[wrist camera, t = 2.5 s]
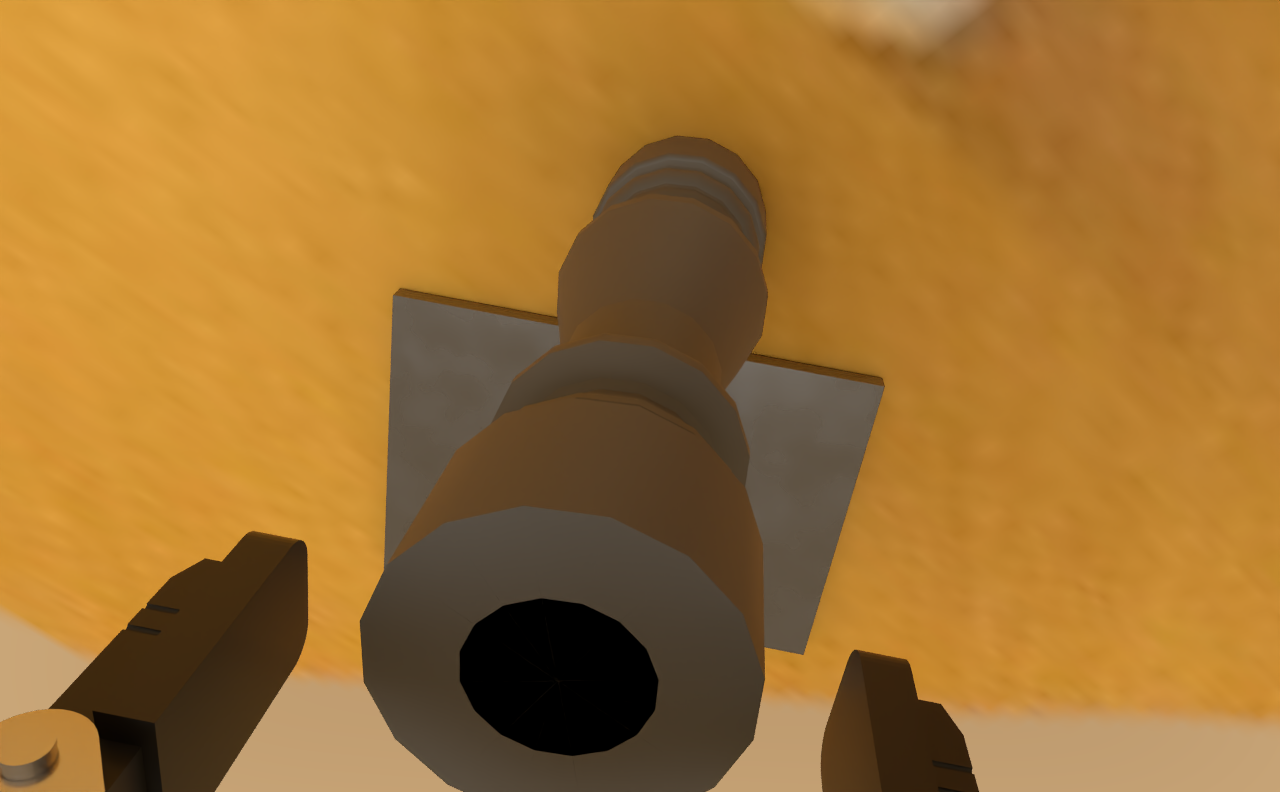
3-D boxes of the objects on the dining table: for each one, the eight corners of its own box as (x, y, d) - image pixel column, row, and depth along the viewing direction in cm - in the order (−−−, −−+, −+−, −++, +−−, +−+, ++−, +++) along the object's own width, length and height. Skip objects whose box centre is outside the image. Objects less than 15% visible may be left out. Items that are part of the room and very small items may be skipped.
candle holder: (694, 325, 37) (598, 894, 14) (572, 227, 36) (264, 683, 13) (799, 208, 34) (882, 678, 12) (672, 99, 33) (501, 395, 11)
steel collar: (882, 378, 37) (898, 433, 33) (802, 643, 43) (807, 719, 39) (400, 288, 38) (354, 331, 33) (390, 561, 44) (350, 627, 40)
